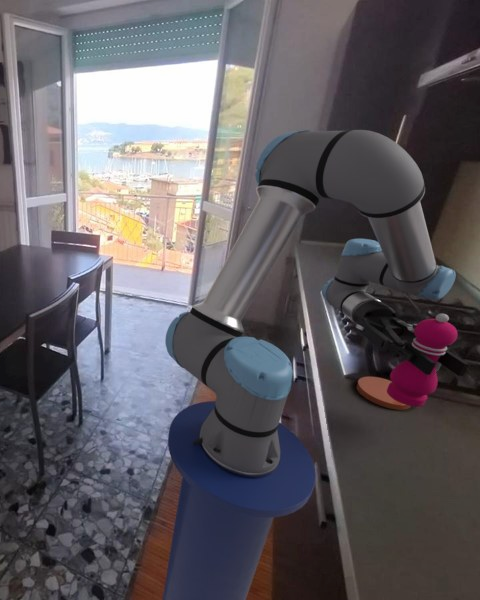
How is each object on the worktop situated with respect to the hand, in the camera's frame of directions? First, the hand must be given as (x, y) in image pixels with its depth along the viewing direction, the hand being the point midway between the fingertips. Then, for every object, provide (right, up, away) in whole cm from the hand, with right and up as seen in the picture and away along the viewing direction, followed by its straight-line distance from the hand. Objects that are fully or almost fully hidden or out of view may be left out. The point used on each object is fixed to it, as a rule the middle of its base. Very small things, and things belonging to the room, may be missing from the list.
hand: (447, 369), depth 67 cm
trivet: (+7, -11, +22) cm, 26 cm away
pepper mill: (+1, -8, +9) cm, 12 cm away
